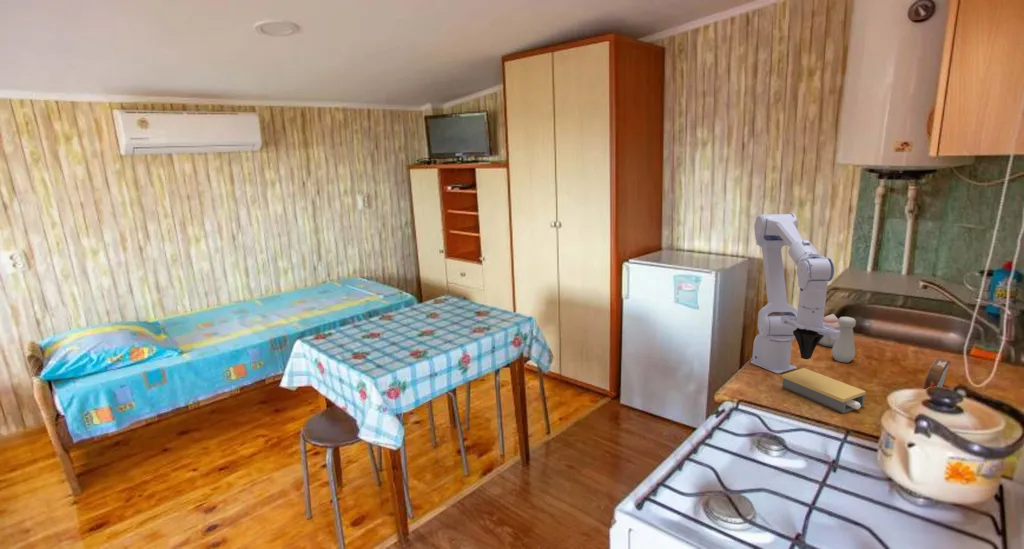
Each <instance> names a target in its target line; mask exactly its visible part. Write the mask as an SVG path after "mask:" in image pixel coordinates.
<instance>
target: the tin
mask: <svg viewBox="0 0 1024 549" xmlns="http://www.w3.org/2000/svg"><path fill="white" fill-rule="evenodd" d="M950 365H951V361H950V360H949V359H945V358H942V357H939V356H937V357H936V359H934V361H933V363H932V364H930V367H929V370H928V372H927V375H926V376H925V381H924V385H923V389H926V388H928V387H934V386H936V387H943V388H944V384H945V382H946V380H947V372H948V369H949V367H950ZM923 389H922V390H923Z"/></svg>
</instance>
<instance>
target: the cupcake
mask: <svg viewBox="0 0 1024 549" xmlns="http://www.w3.org/2000/svg"><path fill="white" fill-rule="evenodd" d="M838 320H839V318H838V317H837V316H836V315H835V314H834V313H830V314H829V315H826V316H825V315H824V320H823V324H825V325H828V326H830V327H832V328H834V329H837V330H839V328H840V325H839V324H838ZM834 343H835V340H834V339H831V337H827V336H823V337H822V339H821V340H820V341H819V342H818V344H819V345H821V346H823V347H828V348H833V345H834Z"/></svg>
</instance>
